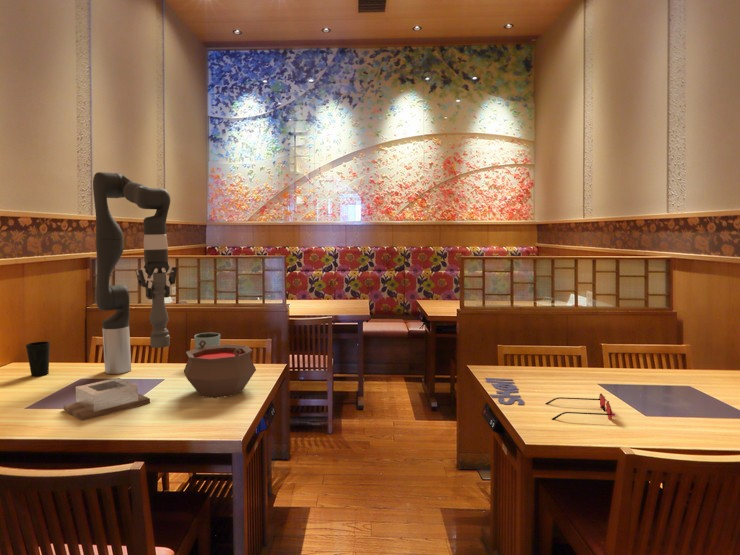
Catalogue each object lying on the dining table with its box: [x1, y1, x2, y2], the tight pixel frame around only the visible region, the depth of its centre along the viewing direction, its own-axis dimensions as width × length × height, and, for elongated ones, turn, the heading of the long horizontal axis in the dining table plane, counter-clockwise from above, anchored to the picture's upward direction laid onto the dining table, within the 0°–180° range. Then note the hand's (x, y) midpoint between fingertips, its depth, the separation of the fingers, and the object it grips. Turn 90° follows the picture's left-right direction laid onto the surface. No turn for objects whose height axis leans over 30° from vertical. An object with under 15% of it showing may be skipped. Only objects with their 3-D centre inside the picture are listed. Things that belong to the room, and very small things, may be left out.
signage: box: [484, 377, 525, 406], centre depth 176 cm, size 28×1×10 cm
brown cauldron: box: [183, 339, 257, 399], centre depth 179 cm, size 24×24×16 cm
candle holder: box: [148, 273, 171, 349], centre depth 182 cm, size 6×6×25 cm
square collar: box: [74, 377, 139, 412], centre depth 165 cm, size 13×13×5 cm
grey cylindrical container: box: [193, 332, 221, 349], centre depth 216 cm, size 10×10×12 cm
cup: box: [25, 341, 51, 378], centre depth 203 cm, size 8×8×12 cm
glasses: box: [544, 392, 616, 421], centre depth 154 cm, size 14×16×5 cm
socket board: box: [62, 393, 151, 421], centre depth 165 cm, size 14×20×2 cm
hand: (158, 298), depth 182 cm, fingers closed on candle holder, 5 cm apart
